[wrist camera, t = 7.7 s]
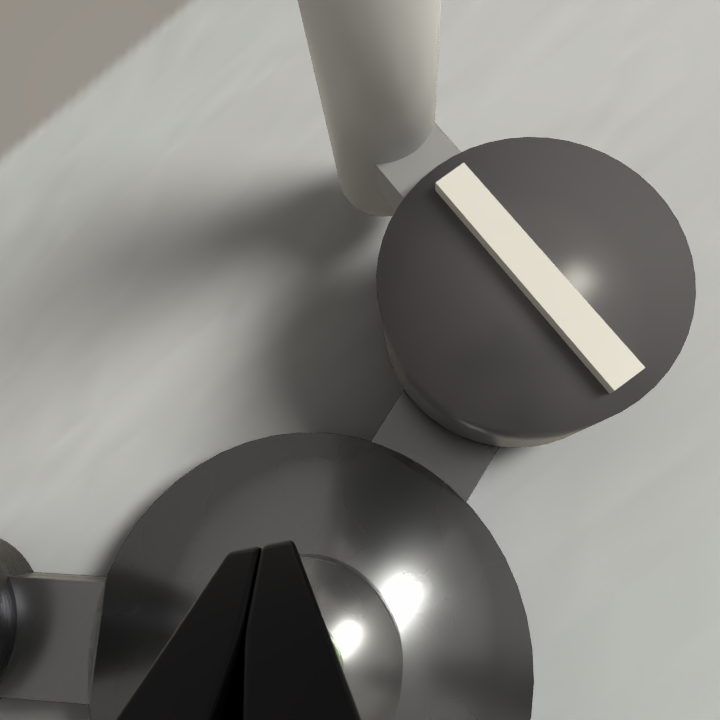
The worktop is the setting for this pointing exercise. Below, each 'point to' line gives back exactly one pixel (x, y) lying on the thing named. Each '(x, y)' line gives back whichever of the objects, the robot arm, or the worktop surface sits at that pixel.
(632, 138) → the worktop surface
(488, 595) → the tribrach
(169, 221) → the worktop surface
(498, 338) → the footscrew lever
